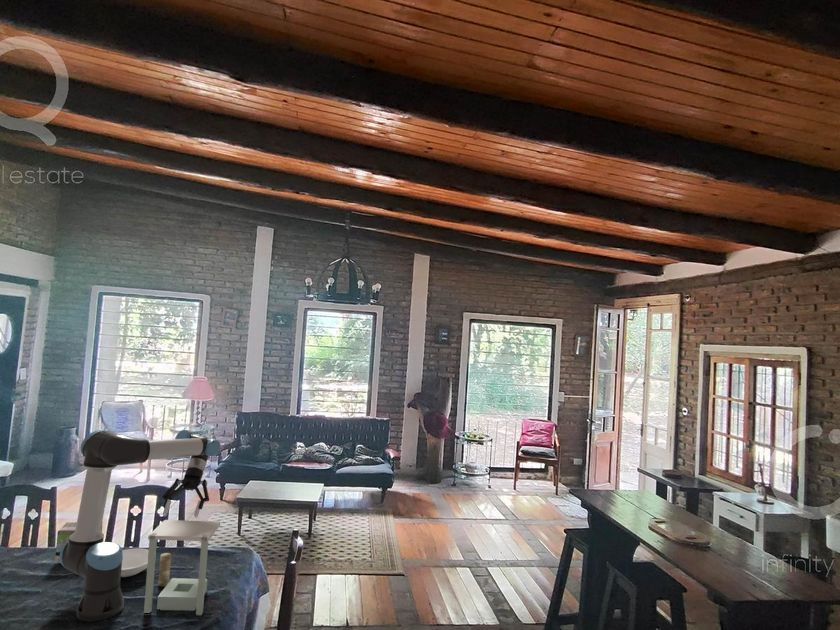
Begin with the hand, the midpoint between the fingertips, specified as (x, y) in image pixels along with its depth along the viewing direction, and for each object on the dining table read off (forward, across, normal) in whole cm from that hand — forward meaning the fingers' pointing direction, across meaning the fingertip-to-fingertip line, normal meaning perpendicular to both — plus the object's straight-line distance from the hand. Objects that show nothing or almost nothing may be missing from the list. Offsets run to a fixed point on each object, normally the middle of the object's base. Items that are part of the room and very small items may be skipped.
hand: (179, 515), depth 224 cm
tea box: (+13, +48, -21) cm, 54 cm away
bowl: (+20, +20, -14) cm, 32 cm away
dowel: (+25, +1, -9) cm, 27 cm away
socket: (+34, -12, 0) cm, 36 cm away
